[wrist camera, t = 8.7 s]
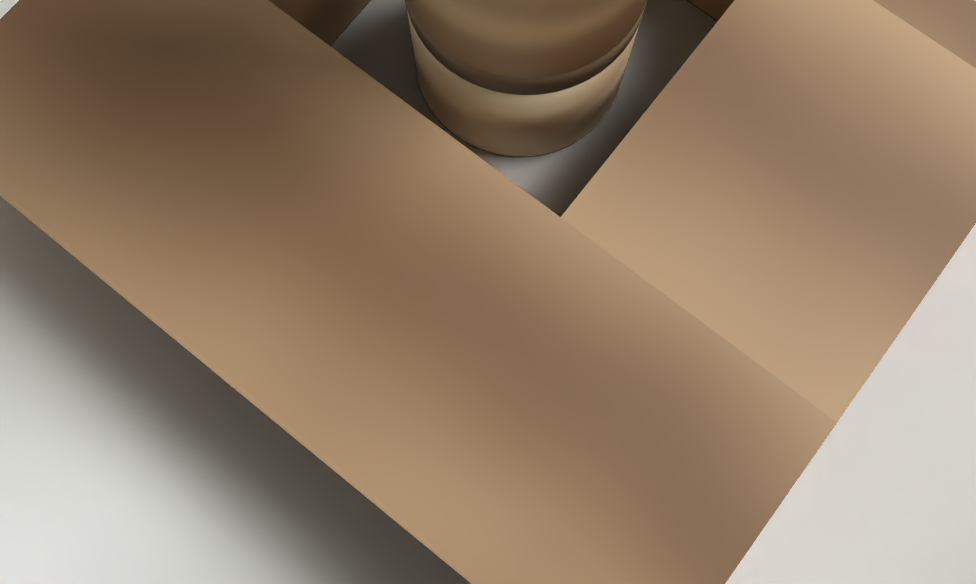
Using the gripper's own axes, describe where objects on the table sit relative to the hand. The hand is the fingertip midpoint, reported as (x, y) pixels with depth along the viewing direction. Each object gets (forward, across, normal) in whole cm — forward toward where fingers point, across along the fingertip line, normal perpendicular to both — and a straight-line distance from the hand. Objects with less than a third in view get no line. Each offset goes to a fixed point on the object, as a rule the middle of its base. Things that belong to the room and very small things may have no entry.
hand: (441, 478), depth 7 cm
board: (+11, 0, +2) cm, 11 cm away
